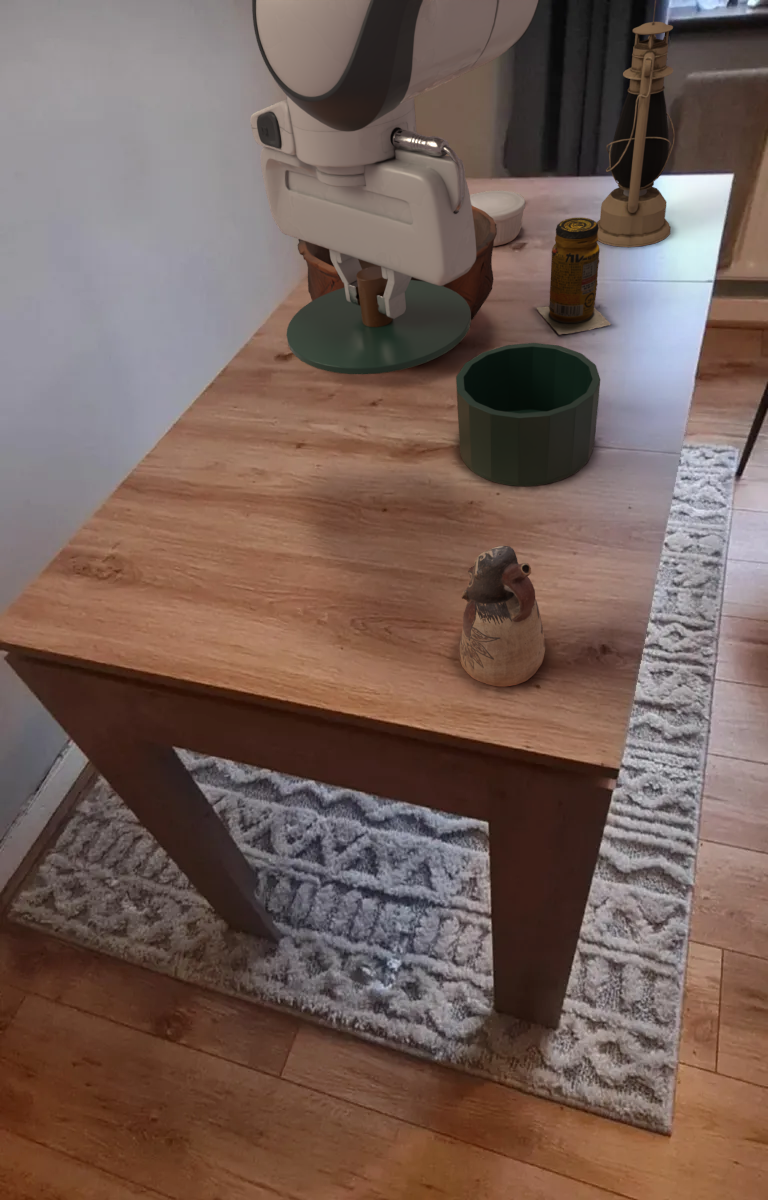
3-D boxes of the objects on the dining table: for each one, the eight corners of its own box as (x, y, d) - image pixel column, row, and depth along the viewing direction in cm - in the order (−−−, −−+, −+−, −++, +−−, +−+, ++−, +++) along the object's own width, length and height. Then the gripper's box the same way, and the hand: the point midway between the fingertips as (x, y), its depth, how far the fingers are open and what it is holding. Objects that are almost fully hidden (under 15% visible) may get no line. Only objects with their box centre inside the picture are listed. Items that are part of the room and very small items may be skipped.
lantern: (596, 213, 132) (613, -11, 111) (671, 212, 129) (704, -18, 108) (587, 250, 123) (605, 13, 101) (668, 250, 120) (704, 5, 98)
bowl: (513, 302, 113) (513, 189, 103) (480, 395, 97) (476, 273, 86) (347, 299, 120) (332, 193, 109) (291, 386, 104) (266, 271, 93)
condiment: (586, 299, 112) (592, 210, 103) (611, 325, 106) (620, 233, 97) (536, 309, 111) (538, 220, 102) (558, 337, 105) (563, 244, 96)
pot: (619, 438, 88) (628, 369, 82) (535, 504, 82) (537, 434, 76) (517, 396, 96) (517, 330, 90) (433, 453, 90) (427, 386, 84)
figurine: (504, 613, 71) (504, 509, 63) (562, 658, 67) (570, 553, 59) (443, 653, 69) (434, 550, 60) (498, 703, 65) (497, 600, 56)
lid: (509, 321, 67) (510, 259, 63) (374, 403, 60) (366, 339, 56) (383, 277, 76) (376, 221, 72) (253, 344, 69) (238, 286, 65)
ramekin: (441, 240, 131) (439, 207, 128) (487, 218, 136) (487, 185, 132) (492, 256, 125) (491, 221, 121) (538, 231, 130) (539, 197, 126)
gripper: (494, 127, 52) (496, 326, 62) (299, 93, 63) (326, 266, 73) (426, 156, 49) (439, 360, 59) (236, 116, 61) (273, 292, 71)
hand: (376, 307), depth 66 cm, fingers closed on lid, 2 cm apart
